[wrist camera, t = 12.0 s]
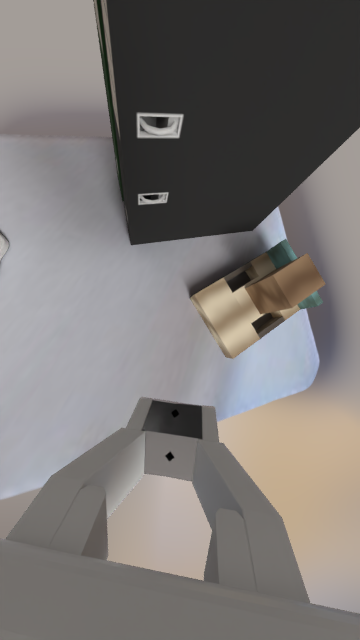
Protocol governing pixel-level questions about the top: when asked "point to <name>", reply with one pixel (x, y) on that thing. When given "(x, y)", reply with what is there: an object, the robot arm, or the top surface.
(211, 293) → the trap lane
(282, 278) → the walnut block
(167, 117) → the binders
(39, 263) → the top surface
